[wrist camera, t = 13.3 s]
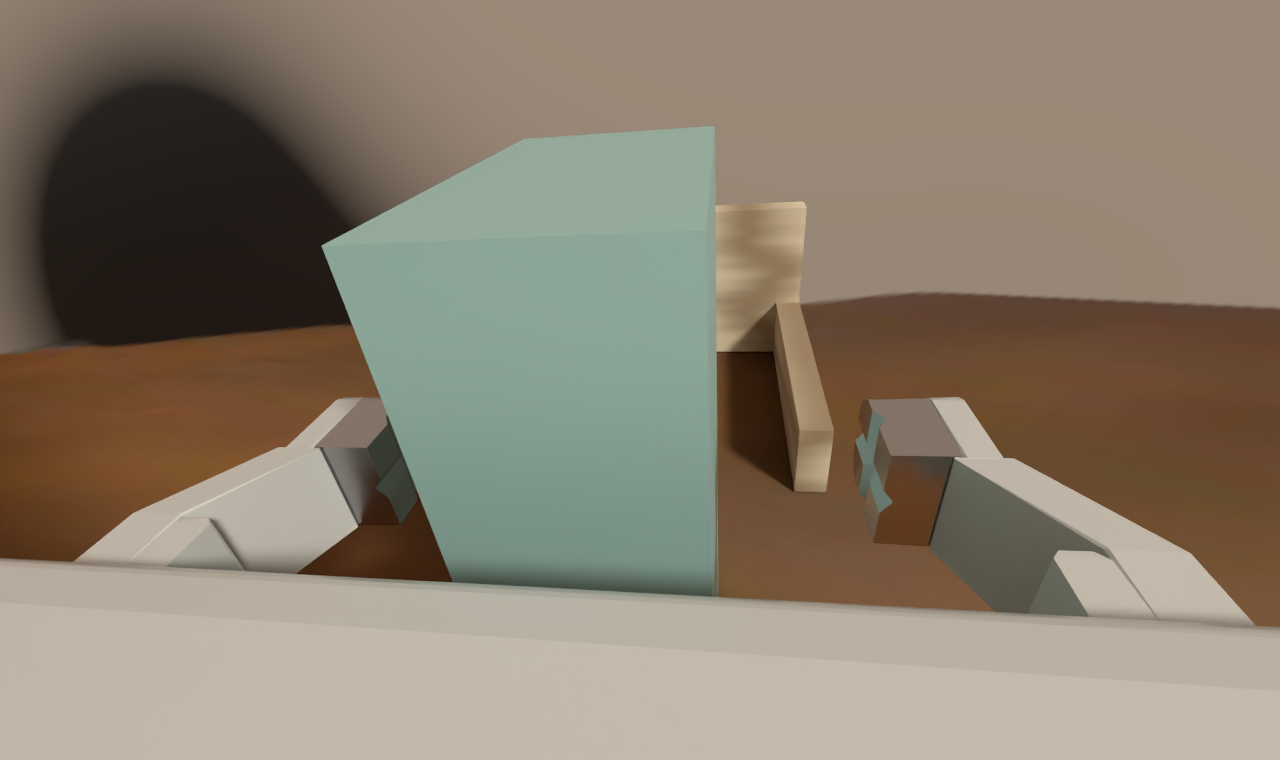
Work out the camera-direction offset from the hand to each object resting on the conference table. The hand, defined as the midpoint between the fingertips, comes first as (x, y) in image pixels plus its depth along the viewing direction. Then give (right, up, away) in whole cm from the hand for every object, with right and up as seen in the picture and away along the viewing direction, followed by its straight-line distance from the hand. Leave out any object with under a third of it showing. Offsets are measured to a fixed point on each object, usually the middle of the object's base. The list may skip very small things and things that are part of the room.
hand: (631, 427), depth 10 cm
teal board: (0, -8, +5) cm, 10 cm away
